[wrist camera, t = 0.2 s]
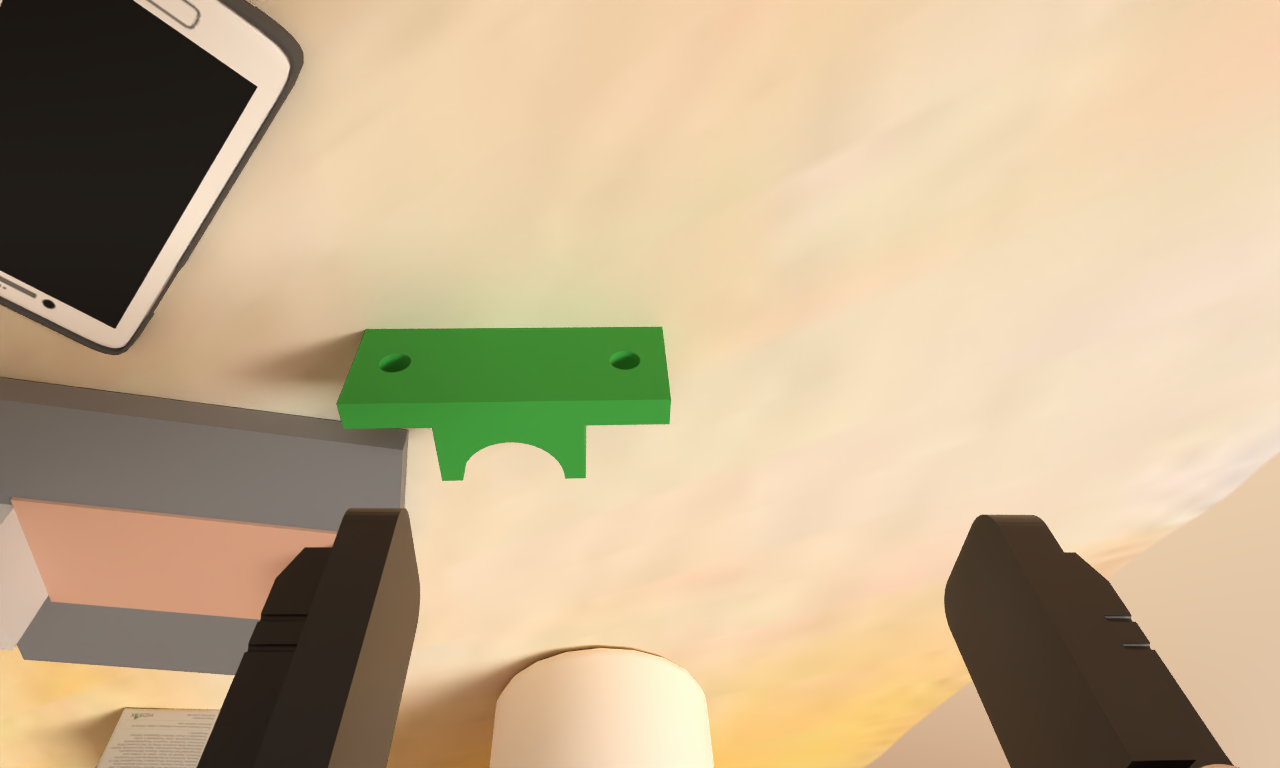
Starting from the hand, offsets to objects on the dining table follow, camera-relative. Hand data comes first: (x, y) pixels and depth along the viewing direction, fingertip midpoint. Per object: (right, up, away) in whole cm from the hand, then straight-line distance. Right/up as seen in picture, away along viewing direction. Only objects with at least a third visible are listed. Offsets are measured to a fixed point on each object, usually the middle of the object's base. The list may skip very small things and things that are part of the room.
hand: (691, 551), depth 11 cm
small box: (-28, -18, +36) cm, 49 cm away
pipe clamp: (-6, +3, +20) cm, 21 cm away
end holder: (-21, -5, +25) cm, 33 cm away
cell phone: (-18, +10, +14) cm, 25 cm away
